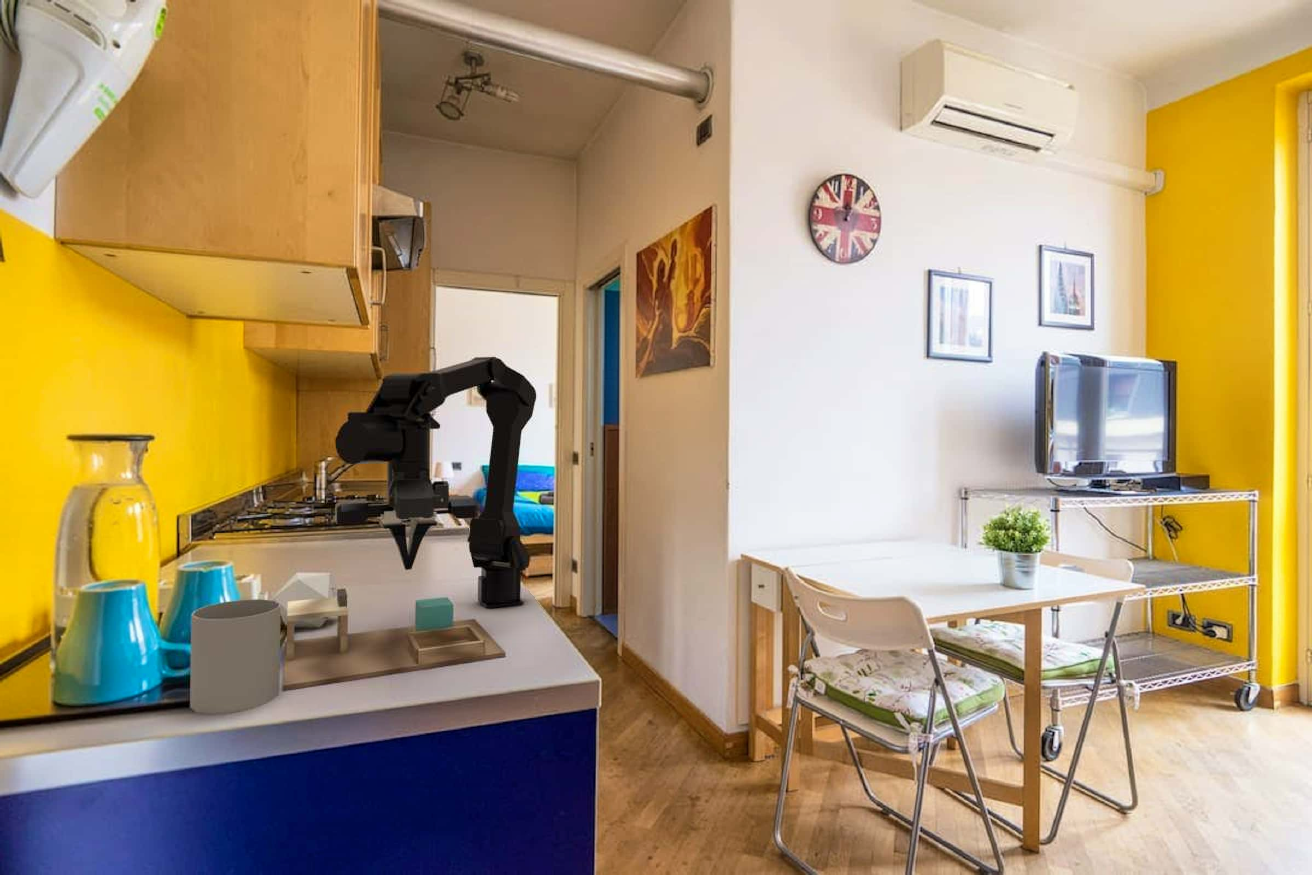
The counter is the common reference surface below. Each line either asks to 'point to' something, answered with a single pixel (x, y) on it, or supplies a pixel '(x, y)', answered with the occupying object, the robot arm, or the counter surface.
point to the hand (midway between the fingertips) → (407, 569)
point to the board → (386, 653)
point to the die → (306, 594)
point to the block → (433, 614)
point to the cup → (234, 655)
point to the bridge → (319, 610)
